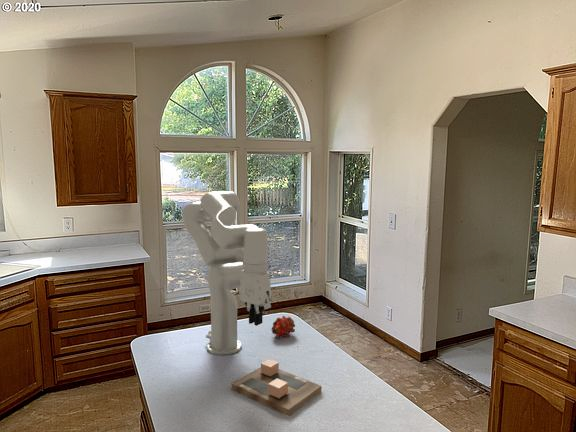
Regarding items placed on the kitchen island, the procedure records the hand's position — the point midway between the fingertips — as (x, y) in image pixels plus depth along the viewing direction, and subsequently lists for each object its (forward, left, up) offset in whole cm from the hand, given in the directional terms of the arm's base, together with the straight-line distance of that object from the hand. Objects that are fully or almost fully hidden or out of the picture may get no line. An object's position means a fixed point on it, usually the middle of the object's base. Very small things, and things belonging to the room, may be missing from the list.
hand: (255, 323), depth 139 cm
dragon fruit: (-12, +29, -17) cm, 36 cm away
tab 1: (+6, 0, -15) cm, 16 cm away
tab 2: (+16, -8, -15) cm, 23 cm away
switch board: (+12, -4, -17) cm, 21 cm away
